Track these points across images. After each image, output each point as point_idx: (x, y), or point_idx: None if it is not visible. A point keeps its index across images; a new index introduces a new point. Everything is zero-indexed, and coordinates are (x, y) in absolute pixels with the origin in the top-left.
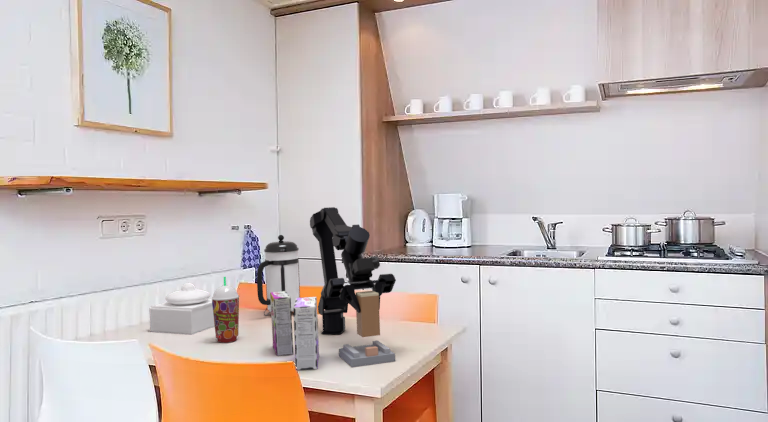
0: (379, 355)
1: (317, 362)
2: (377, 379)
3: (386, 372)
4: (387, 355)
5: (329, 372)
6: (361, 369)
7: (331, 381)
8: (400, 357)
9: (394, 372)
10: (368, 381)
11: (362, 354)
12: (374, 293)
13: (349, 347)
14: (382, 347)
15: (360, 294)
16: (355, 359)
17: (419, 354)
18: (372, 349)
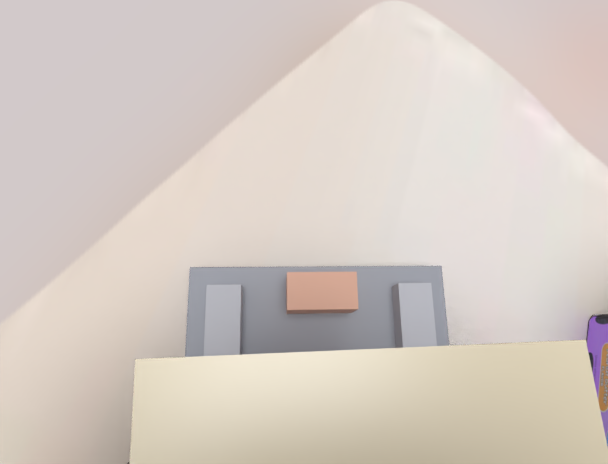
0: (281, 270)
1: (605, 337)
2: (364, 69)
3: (301, 133)
4: (235, 268)
5: (537, 241)
6: (391, 220)
7: (542, 123)
8: (142, 331)
9: (270, 118)
10: (404, 63)
11: (362, 333)
12: (247, 357)
13: None
14: (237, 332)
15: (591, 399)
16: (417, 267)
17: (20, 341)
18: (321, 272)
